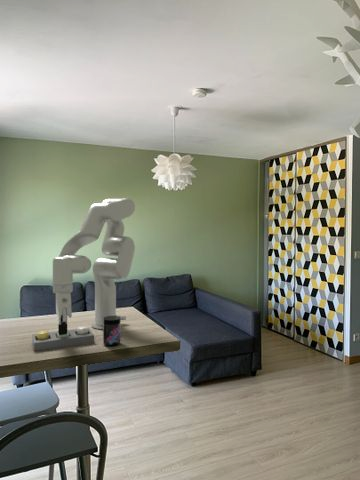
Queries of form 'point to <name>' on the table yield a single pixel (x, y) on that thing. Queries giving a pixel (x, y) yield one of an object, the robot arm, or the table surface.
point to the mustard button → (42, 335)
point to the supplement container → (111, 330)
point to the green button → (63, 335)
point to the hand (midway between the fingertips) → (62, 333)
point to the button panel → (62, 340)
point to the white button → (82, 330)
